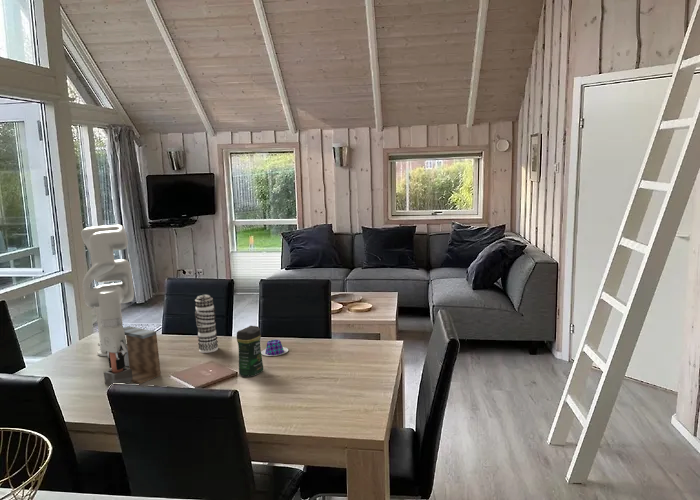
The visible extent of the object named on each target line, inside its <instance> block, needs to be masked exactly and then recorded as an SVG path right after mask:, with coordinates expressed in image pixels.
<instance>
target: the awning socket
mask: <svg viewBox="0 0 700 500" xmlns="http://www.w3.org/2000/svg"><path fill="white" fill-rule="evenodd" d="M123 328H124V333H125V338H126V344H127V349H128V358H129V367H127V366H125V368H123V371H121V372H119V373H116V374H115V373H112V368H109V369H108V370H106V371H103V377H104V383H105V386H106V385H107V386H109V387H111V386H110V385H111V384H113V383H126V384H128V383H129V384H130V383H136V384H138V385H141V384H143V383H146V382H148V381H150V380H153V379H155V378H158V377H160V376H161V372H162V371H161V365H160V354H159V353H160V352H159V345H158V336H157V335H158V334H157V331H155V330H150V329H145V328H140V327H134V326H125V327H124V326H123Z"/></svg>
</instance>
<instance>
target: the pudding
mask: <svg viewBox="0 0 700 500" xmlns="http://www.w3.org/2000/svg"><path fill="white" fill-rule="evenodd" d="M288 352H289V349H288V348H287V347H284V346H283V345H282V341H281V340H280V339H271V340H268V341H267V343H266V347H265V348H264V349H263V350H262V349H261V355H262V356H267V357H276V356H281V355H284V354H286V353H288Z"/></svg>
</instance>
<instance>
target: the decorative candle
mask: <svg viewBox="0 0 700 500" xmlns="http://www.w3.org/2000/svg"><path fill="white" fill-rule="evenodd" d="M194 301H195V302H194V303H195V311H194V317H195V322H196V323H195V325H196V327H197V341H198V344H197V345H198V349H199V350H198V352H199V353H202V354H203V353H204V354H206V353H207V354H208V353H213V352H217V351H218V350H219V347H218V346H219V344H218V340H217V339H218V337H217V336H218V333H217V329H216V324H217V321H215V320H216V319H217V317H216V315H217V314H216V313H215V312H216V311H217V310H216V309H215V308H216V306H215V305H214V298H213V297H212V296H211V295H210V294H202V295H197V296H196V298H195V299H194Z"/></svg>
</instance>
